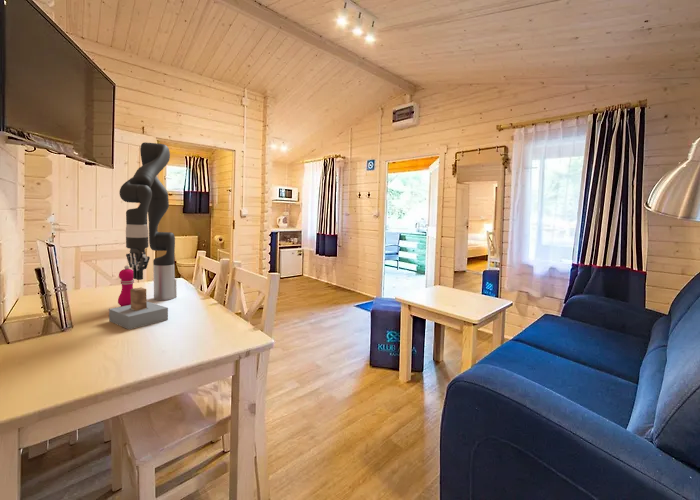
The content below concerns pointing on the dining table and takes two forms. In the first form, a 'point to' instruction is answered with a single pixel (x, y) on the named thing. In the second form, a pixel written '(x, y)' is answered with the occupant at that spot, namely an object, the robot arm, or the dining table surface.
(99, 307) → the dining table surface
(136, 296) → the walnut peg
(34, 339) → the dining table surface
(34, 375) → the dining table surface
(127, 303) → the pepper mill
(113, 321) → the socket board
